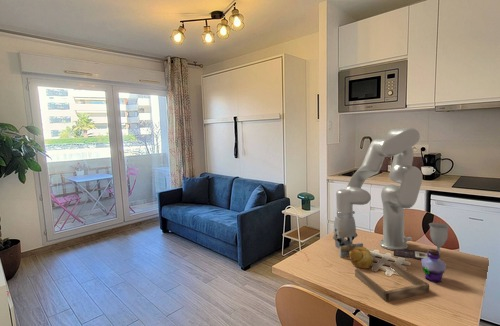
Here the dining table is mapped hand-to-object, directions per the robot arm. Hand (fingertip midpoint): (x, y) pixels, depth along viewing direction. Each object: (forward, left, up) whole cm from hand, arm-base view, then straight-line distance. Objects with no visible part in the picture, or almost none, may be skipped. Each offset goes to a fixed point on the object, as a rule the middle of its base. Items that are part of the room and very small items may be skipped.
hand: (345, 249), depth 138 cm
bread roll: (0, +13, -1) cm, 13 cm away
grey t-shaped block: (0, -1, 0) cm, 1 cm away
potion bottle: (-18, +34, -1) cm, 38 cm away
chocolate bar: (-28, +14, -1) cm, 31 cm away
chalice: (-29, +25, -1) cm, 39 cm away
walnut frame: (0, +31, -1) cm, 31 cm away
